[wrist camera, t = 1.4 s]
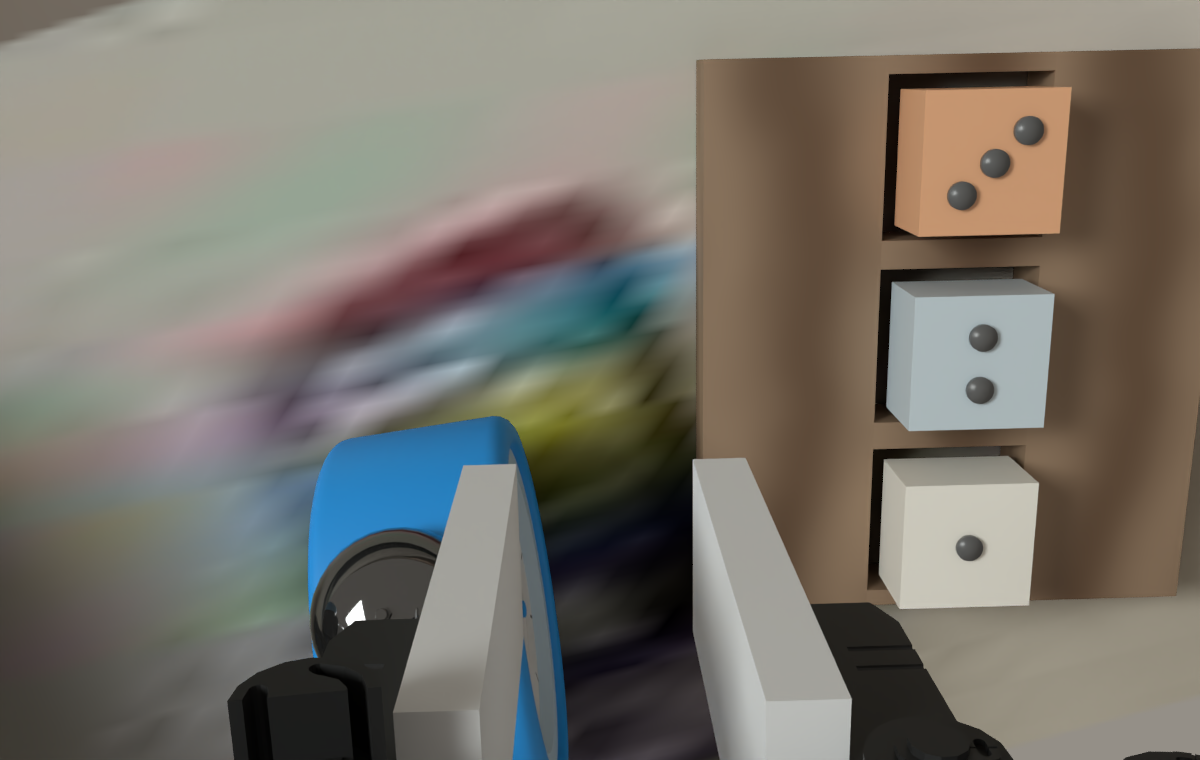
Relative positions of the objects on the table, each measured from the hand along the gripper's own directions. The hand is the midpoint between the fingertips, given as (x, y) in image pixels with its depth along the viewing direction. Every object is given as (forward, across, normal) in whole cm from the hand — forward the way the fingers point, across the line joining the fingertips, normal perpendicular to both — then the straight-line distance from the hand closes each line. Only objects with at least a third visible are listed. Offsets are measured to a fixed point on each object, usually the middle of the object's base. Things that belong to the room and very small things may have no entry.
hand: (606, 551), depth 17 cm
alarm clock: (+27, -5, -11) cm, 29 cm away
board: (+27, +13, -3) cm, 30 cm away
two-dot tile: (+24, +13, -3) cm, 28 cm away
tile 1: (+24, +13, +4) cm, 28 cm away
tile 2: (+24, +13, -10) cm, 29 cm away
